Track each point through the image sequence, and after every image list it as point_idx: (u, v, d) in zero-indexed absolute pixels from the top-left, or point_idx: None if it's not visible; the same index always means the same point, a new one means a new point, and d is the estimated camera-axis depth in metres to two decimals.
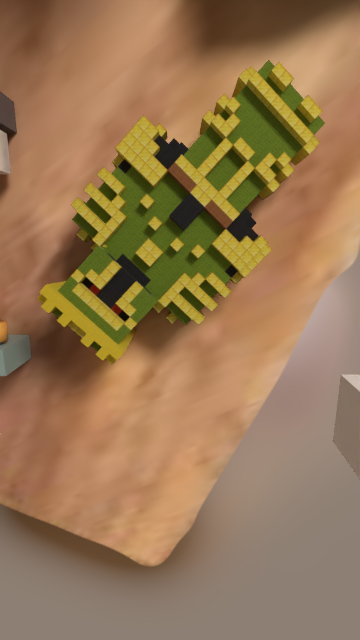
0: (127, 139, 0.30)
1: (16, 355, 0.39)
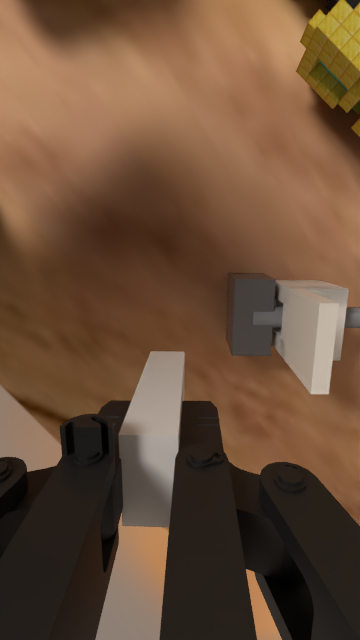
0: (351, 53, 0.19)
1: None
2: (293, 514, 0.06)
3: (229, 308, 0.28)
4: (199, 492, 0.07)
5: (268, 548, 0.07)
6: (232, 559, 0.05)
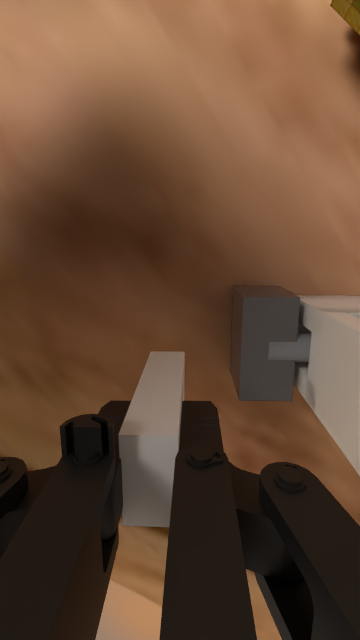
0: None
1: None
2: (293, 514, 0.06)
3: (234, 333, 0.21)
4: (199, 492, 0.07)
5: (268, 548, 0.07)
6: (232, 559, 0.05)
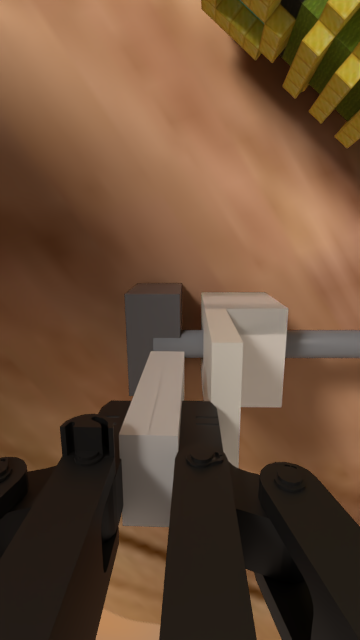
0: None
1: None
2: (293, 514, 0.06)
3: None
4: (199, 492, 0.07)
5: (268, 548, 0.07)
6: (232, 559, 0.05)
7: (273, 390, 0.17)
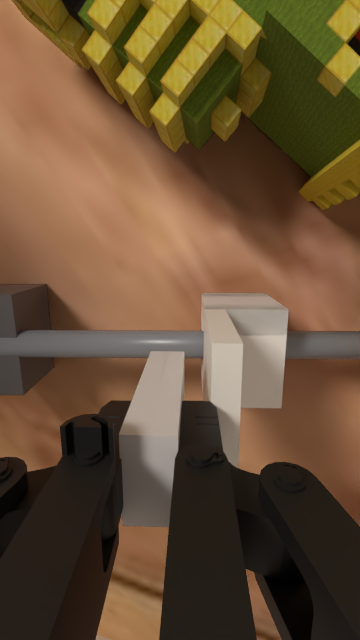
0: None
1: None
2: (293, 514, 0.06)
3: None
4: (199, 492, 0.07)
5: (268, 548, 0.07)
6: (232, 559, 0.05)
7: (273, 391, 0.17)
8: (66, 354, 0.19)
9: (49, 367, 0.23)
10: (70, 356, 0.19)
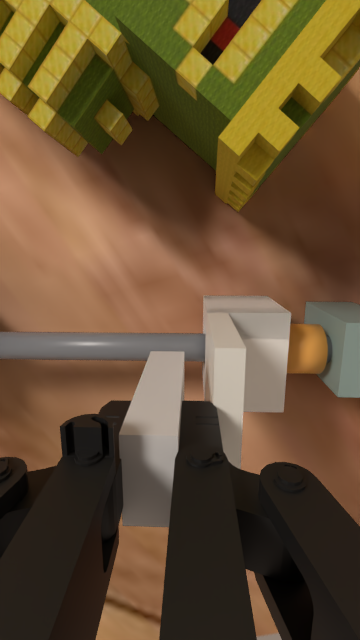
0: None
1: (352, 312, 0.19)
2: (293, 514, 0.06)
3: None
4: (199, 492, 0.07)
5: (268, 548, 0.07)
6: (232, 559, 0.05)
7: (275, 395, 0.17)
8: None
9: None
10: None
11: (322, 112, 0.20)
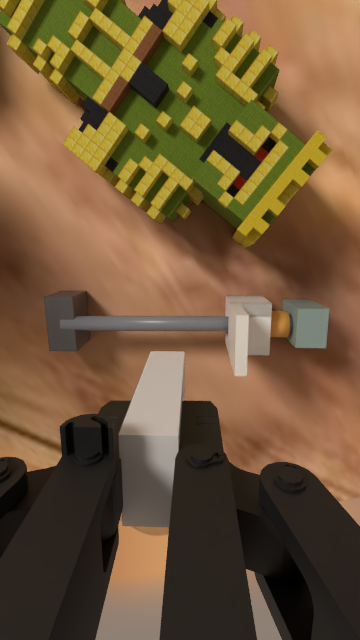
0: (86, 159, 0.30)
1: (305, 304, 0.35)
2: (293, 514, 0.06)
3: None
4: (199, 492, 0.07)
5: (268, 548, 0.07)
6: (232, 559, 0.05)
7: (265, 346, 0.33)
8: (100, 328, 0.36)
9: (87, 339, 0.40)
10: (102, 329, 0.36)
11: None
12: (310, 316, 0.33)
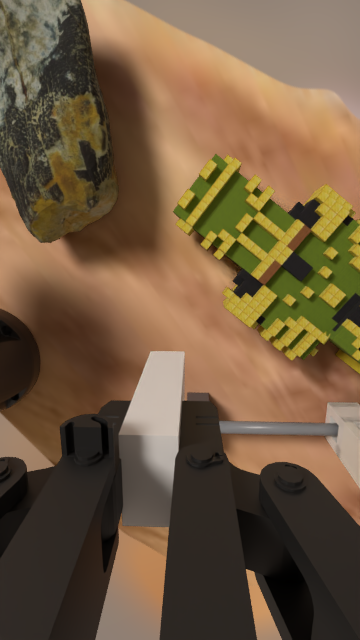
0: (243, 318, 0.38)
1: None
2: (293, 514, 0.06)
3: None
4: (199, 492, 0.07)
5: (268, 548, 0.07)
6: (232, 559, 0.05)
7: None
8: (230, 432, 0.44)
9: None
10: (231, 433, 0.44)
11: None
12: None
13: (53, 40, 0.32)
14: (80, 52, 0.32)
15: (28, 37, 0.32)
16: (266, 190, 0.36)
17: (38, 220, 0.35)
